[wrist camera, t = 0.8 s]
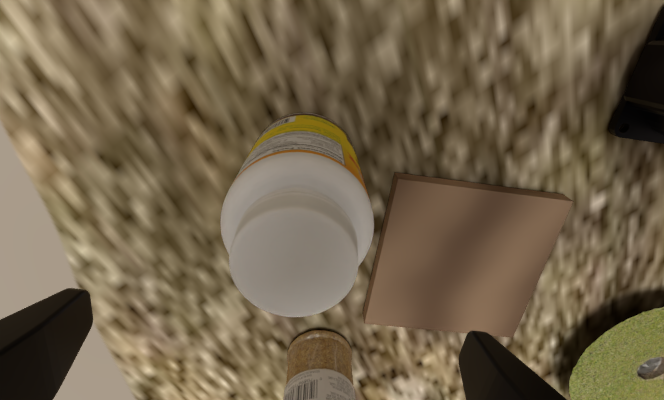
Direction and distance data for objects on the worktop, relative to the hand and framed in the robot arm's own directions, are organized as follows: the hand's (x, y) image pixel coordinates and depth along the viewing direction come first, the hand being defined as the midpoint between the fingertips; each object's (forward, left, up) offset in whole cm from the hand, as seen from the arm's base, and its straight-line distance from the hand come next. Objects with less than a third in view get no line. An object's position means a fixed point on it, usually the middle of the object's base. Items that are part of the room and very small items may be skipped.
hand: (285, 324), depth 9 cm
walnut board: (-10, +5, -13) cm, 17 cm away
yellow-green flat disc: (-25, +11, -13) cm, 30 cm away
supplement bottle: (0, 0, -13) cm, 13 cm away
